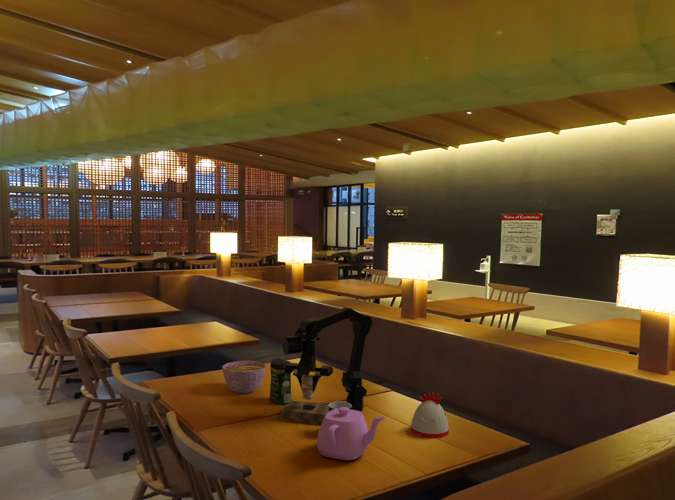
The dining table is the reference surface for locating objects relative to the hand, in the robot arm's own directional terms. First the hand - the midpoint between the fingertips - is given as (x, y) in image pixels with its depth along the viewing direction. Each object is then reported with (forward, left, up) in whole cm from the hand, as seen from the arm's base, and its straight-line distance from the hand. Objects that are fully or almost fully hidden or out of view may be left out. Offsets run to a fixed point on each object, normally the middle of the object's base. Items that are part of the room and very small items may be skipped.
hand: (308, 390), depth 211 cm
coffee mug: (-17, +10, -11) cm, 23 cm away
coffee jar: (+17, -15, -11) cm, 25 cm away
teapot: (-22, +28, -11) cm, 37 cm away
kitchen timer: (-48, 0, -11) cm, 49 cm away
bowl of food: (+38, -24, -11) cm, 46 cm away
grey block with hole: (0, 0, -11) cm, 11 cm away
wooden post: (0, 0, -3) cm, 3 cm away
